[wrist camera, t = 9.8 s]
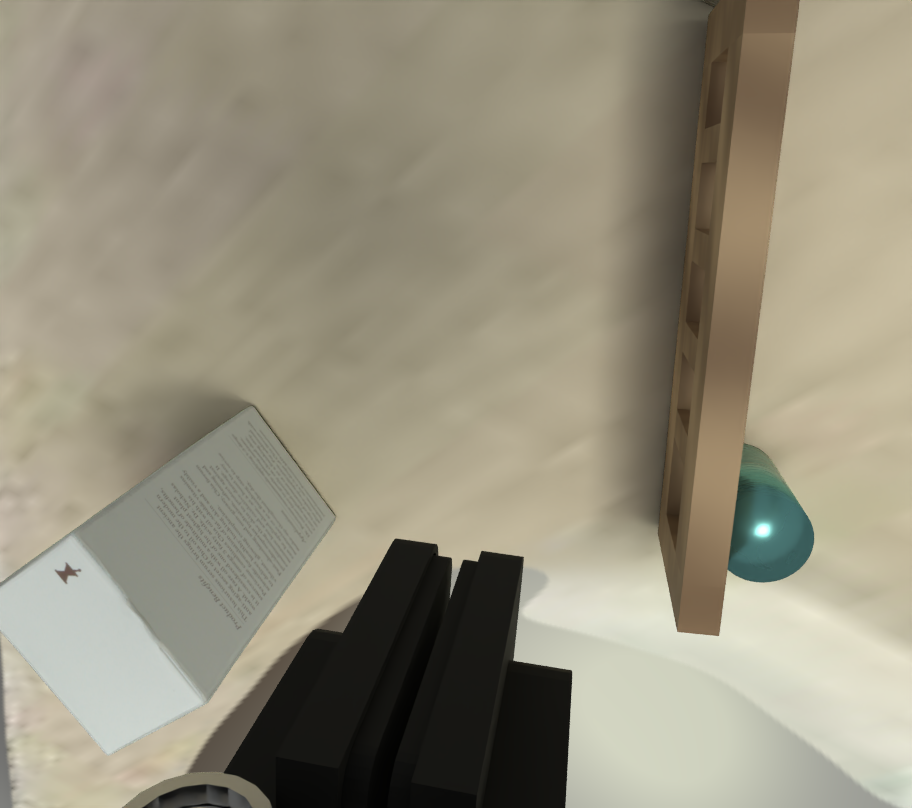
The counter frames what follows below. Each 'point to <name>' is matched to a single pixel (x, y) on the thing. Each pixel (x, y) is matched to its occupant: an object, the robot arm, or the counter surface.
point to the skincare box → (166, 583)
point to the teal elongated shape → (766, 519)
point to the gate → (722, 296)
